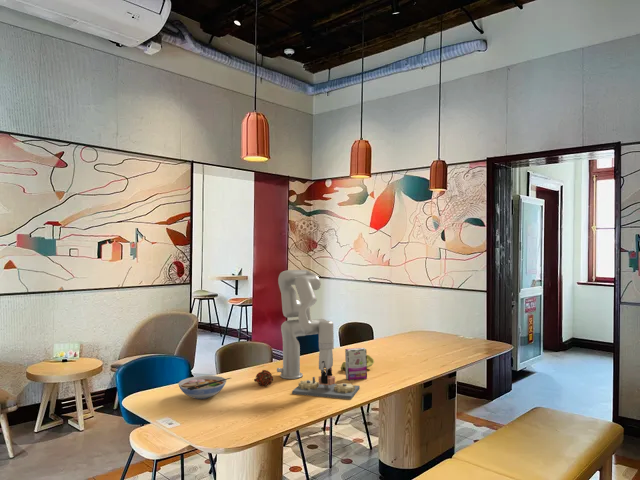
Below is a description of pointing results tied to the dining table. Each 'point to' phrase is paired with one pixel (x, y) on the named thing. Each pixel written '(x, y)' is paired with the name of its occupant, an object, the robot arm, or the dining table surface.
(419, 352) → the dining table surface
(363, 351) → the candy bar box
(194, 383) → the ramen bowl
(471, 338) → the dining table surface
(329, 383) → the idler gear
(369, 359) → the plastic component
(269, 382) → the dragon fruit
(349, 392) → the gear board
